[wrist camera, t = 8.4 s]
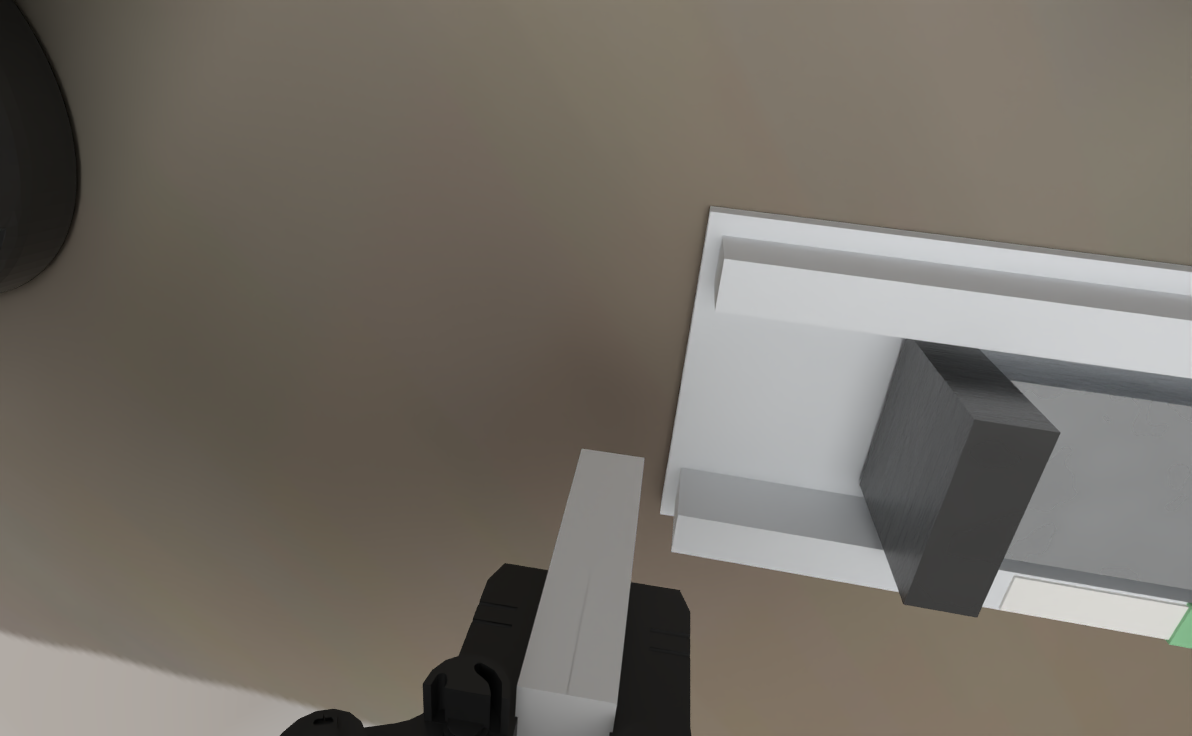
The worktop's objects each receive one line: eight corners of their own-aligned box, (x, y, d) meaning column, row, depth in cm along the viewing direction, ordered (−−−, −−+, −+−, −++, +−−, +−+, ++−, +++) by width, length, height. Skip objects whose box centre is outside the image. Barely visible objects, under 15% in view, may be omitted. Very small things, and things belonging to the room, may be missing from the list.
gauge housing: (661, 499, 27) (647, 628, 21) (710, 205, 22) (711, 259, 16) (1296, 607, 25) (1496, 789, 19) (1512, 305, 20) (1887, 415, 14)
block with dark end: (839, 549, 25) (874, 679, 20) (907, 332, 22) (974, 419, 16) (1203, 612, 24) (1346, 768, 19) (1343, 393, 20) (1574, 510, 15)
